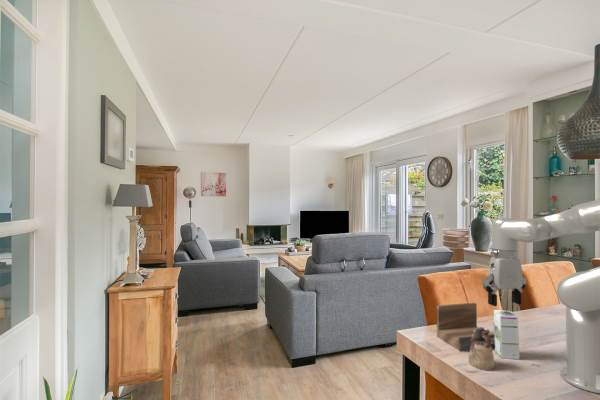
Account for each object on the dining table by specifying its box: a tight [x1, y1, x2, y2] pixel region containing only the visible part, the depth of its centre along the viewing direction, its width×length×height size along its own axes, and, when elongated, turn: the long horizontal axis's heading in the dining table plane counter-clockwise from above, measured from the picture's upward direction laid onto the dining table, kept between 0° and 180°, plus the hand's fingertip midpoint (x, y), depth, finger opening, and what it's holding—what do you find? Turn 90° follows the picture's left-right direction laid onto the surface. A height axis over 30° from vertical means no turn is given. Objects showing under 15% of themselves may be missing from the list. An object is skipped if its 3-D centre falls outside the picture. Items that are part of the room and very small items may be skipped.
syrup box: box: [493, 309, 520, 360], centre depth 108 cm, size 6×6×14 cm
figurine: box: [468, 326, 496, 371], centre depth 101 cm, size 7×7×12 cm
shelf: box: [436, 302, 495, 352], centre depth 119 cm, size 13×17×12 cm
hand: (504, 304), depth 109 cm, fingers open, 9 cm apart
